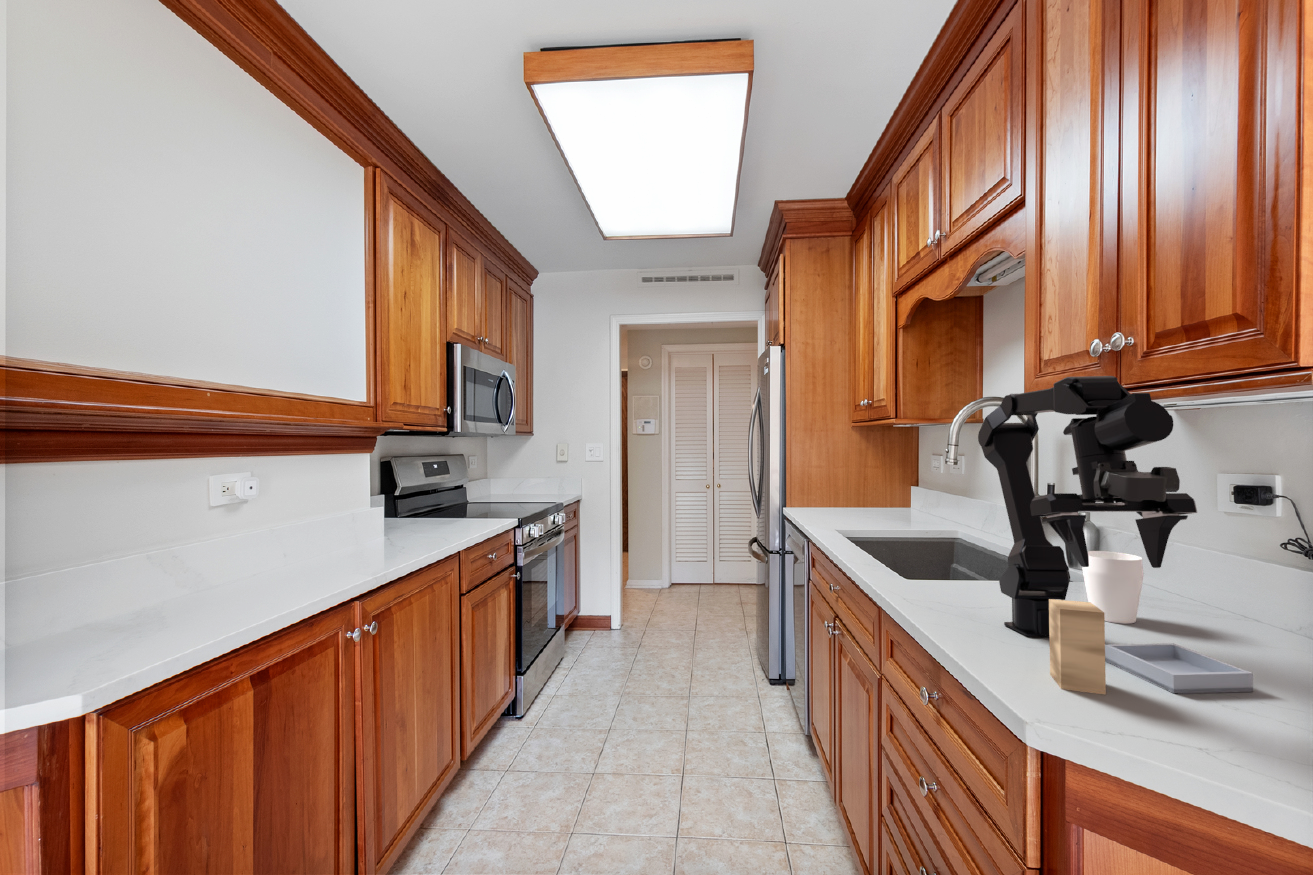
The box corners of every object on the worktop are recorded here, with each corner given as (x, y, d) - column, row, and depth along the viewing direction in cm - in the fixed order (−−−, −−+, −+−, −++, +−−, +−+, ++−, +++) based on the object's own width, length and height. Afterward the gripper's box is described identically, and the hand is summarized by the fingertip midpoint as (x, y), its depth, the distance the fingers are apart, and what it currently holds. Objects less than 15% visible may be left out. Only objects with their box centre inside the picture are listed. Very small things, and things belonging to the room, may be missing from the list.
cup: (1083, 608, 111) (1082, 548, 111) (1143, 616, 105) (1142, 554, 105) (1082, 619, 104) (1081, 556, 104) (1145, 629, 98) (1144, 562, 98)
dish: (1104, 660, 85) (1104, 644, 85) (1173, 659, 85) (1173, 643, 85) (1173, 693, 74) (1173, 674, 74) (1253, 691, 74) (1252, 673, 74)
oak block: (1050, 674, 80) (1048, 598, 80) (1091, 679, 78) (1090, 602, 78) (1061, 688, 75) (1059, 608, 76) (1105, 694, 74) (1104, 612, 74)
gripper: (1066, 446, 74) (1086, 565, 70) (1219, 444, 72) (1248, 567, 68) (1021, 462, 84) (1037, 566, 81) (1153, 461, 82) (1175, 568, 79)
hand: (1120, 567), depth 77 cm, fingers open, 9 cm apart
